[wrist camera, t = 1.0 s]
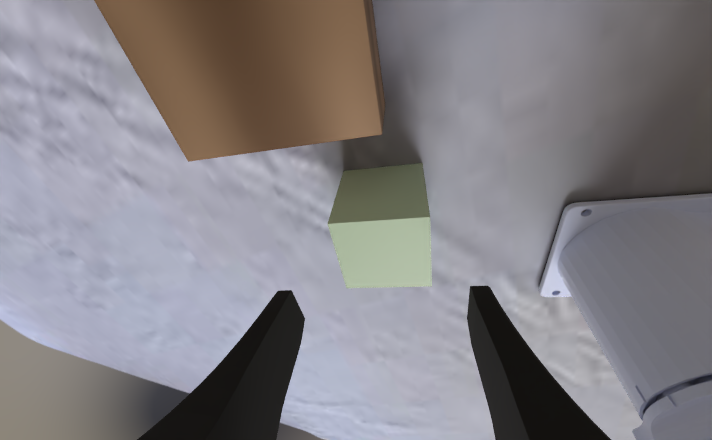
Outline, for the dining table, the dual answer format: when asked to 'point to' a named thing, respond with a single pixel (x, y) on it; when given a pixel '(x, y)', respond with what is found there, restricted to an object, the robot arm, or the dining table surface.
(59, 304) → the dining table surface
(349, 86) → the walnut block
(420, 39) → the dining table surface
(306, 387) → the dining table surface
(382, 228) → the sage block
